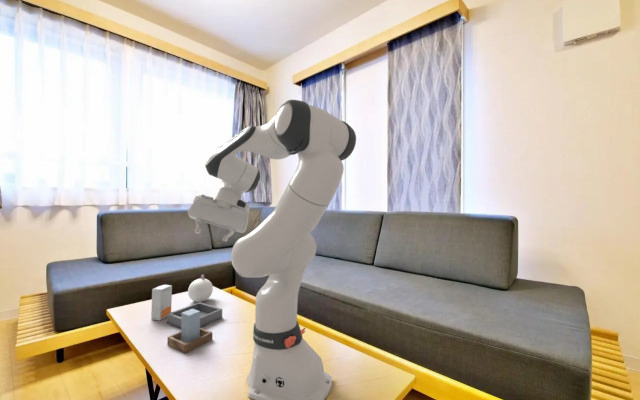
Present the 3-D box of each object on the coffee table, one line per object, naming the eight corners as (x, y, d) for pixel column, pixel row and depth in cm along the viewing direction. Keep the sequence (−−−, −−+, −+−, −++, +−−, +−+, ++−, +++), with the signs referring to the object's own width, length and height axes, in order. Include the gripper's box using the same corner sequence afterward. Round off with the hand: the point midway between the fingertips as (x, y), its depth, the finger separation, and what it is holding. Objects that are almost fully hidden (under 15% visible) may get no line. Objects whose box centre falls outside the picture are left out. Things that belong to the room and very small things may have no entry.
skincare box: (160, 320, 104) (160, 289, 104) (150, 319, 105) (151, 288, 105) (171, 314, 110) (172, 285, 110) (162, 313, 111) (163, 284, 111)
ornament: (217, 298, 128) (217, 273, 128) (201, 306, 118) (202, 279, 119) (199, 296, 131) (199, 271, 131) (182, 303, 122) (183, 276, 122)
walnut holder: (212, 339, 91) (212, 332, 91) (185, 353, 82) (185, 345, 82) (194, 332, 95) (194, 325, 95) (167, 344, 87) (167, 337, 87)
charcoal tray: (222, 317, 107) (222, 309, 107) (190, 332, 95) (190, 322, 95) (199, 310, 114) (199, 302, 114) (166, 323, 102) (167, 313, 102)
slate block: (199, 341, 90) (200, 311, 90) (188, 346, 86) (189, 315, 86) (192, 338, 92) (192, 308, 92) (180, 343, 88) (181, 312, 88)
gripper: (196, 189, 94) (177, 224, 87) (253, 206, 96) (239, 242, 89) (198, 196, 99) (181, 230, 93) (253, 213, 101) (240, 247, 95)
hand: (210, 236), depth 91 cm, fingers open, 8 cm apart
